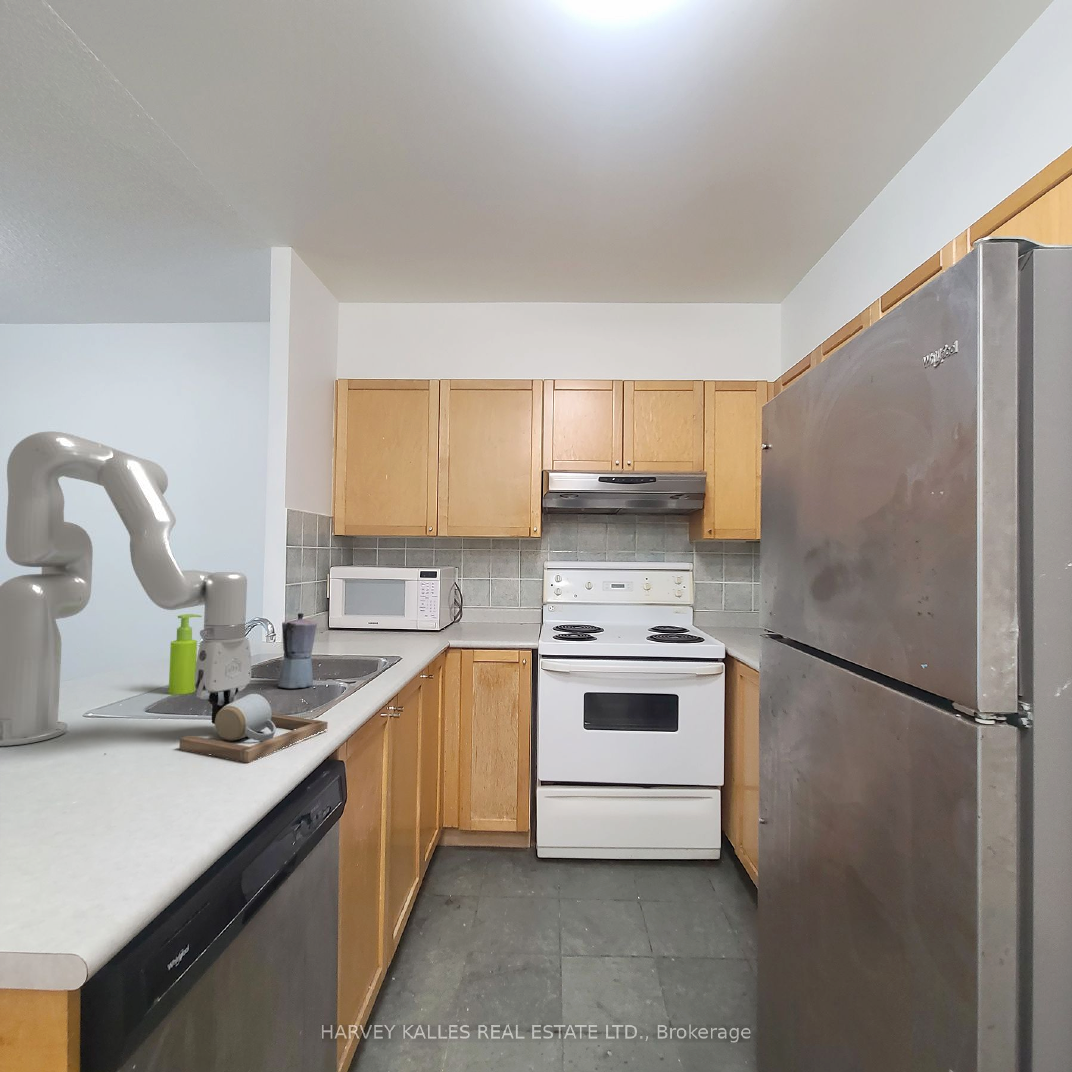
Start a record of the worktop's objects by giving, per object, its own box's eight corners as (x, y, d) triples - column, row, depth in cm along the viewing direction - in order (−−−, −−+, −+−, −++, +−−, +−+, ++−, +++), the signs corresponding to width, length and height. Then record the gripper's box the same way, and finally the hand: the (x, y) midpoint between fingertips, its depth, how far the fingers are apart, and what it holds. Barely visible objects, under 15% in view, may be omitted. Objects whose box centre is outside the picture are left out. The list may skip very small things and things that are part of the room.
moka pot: (322, 680, 167) (325, 611, 168) (303, 693, 151) (305, 617, 152) (289, 680, 167) (291, 610, 167) (266, 693, 151) (268, 616, 152)
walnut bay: (248, 763, 102) (248, 751, 102) (179, 749, 108) (179, 738, 108) (327, 731, 120) (327, 721, 120) (264, 721, 126) (265, 712, 126)
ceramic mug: (210, 741, 113) (212, 701, 113) (239, 728, 121) (241, 691, 121) (258, 746, 111) (260, 706, 111) (284, 733, 119) (286, 696, 119)
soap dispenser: (203, 690, 152) (206, 614, 153) (176, 696, 146) (179, 616, 147) (191, 687, 155) (194, 612, 156) (163, 692, 149) (167, 615, 150)
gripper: (205, 638, 110) (201, 736, 109) (267, 629, 124) (263, 716, 123) (177, 635, 113) (173, 731, 112) (241, 627, 127) (237, 712, 126)
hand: (220, 723), depth 118 cm, fingers closed
